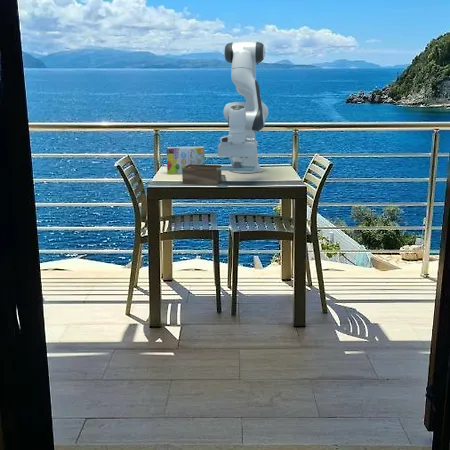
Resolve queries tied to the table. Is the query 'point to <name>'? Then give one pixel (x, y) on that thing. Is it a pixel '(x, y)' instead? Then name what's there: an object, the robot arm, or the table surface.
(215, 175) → the walnut box
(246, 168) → the lid
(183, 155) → the snack box
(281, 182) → the table surface
